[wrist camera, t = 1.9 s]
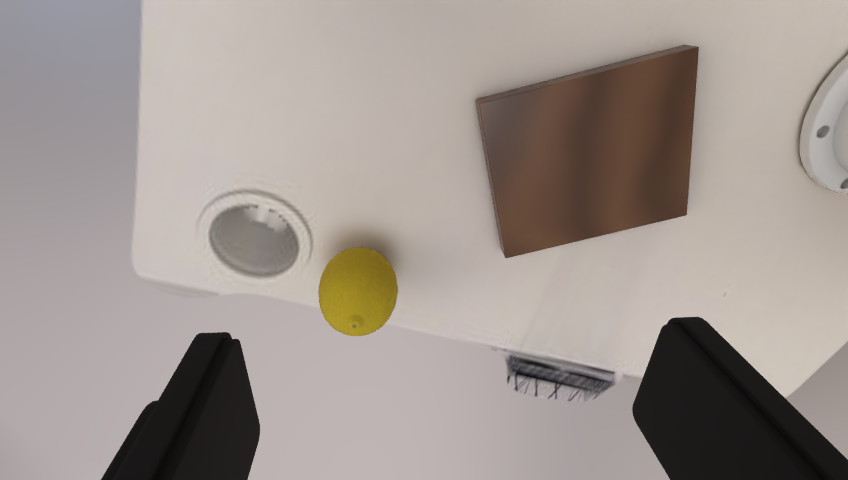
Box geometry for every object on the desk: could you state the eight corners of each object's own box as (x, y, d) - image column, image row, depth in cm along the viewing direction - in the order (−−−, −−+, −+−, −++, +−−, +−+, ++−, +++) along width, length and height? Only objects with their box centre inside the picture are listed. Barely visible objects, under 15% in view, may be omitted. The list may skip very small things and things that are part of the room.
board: (684, 44, 28) (699, 46, 26) (675, 207, 34) (686, 215, 32) (474, 99, 29) (478, 103, 27) (501, 249, 34) (505, 258, 33)
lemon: (331, 223, 32) (315, 284, 25) (403, 236, 33) (406, 297, 26) (322, 283, 35) (305, 353, 28) (389, 293, 36) (389, 363, 29)
